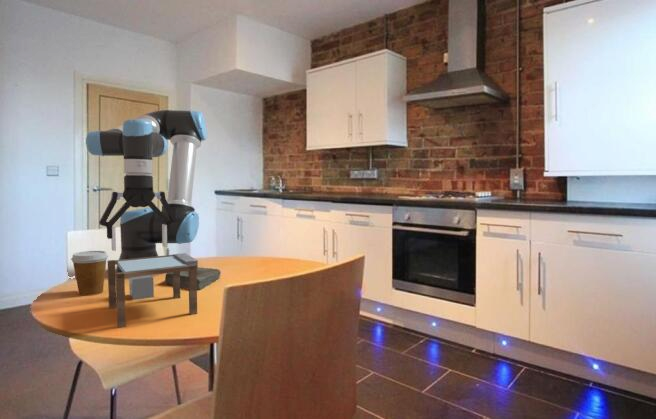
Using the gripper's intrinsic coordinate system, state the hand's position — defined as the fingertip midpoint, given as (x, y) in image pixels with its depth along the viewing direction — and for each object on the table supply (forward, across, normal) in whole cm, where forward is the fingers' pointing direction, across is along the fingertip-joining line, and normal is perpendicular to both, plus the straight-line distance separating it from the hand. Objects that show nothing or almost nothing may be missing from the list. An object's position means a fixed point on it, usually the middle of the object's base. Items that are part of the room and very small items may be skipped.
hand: (140, 248), depth 117 cm
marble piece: (+15, +17, +8) cm, 24 cm away
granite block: (+14, 0, 0) cm, 14 cm away
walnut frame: (+14, 0, -15) cm, 21 cm away
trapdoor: (+4, +2, -15) cm, 15 cm away
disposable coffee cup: (+14, -12, +12) cm, 22 cm away
